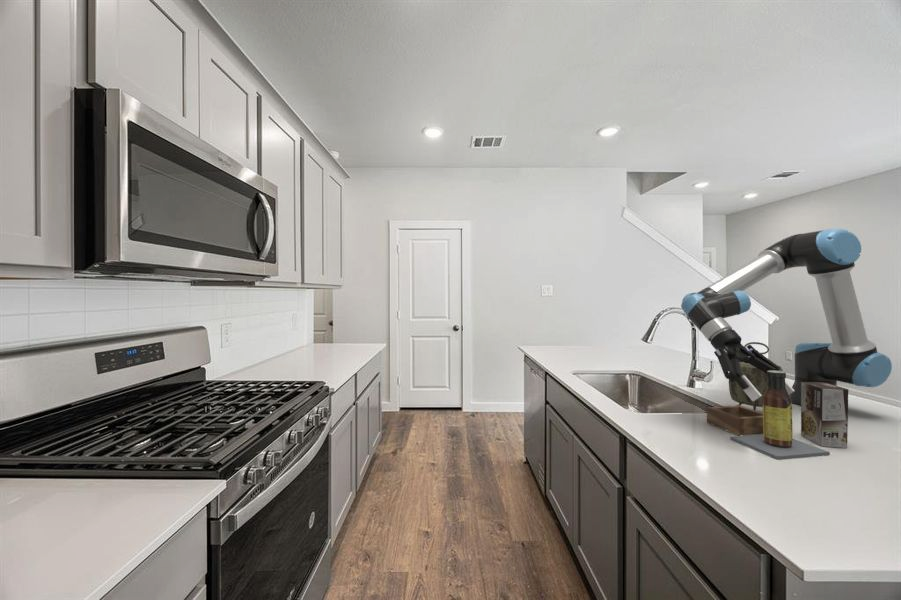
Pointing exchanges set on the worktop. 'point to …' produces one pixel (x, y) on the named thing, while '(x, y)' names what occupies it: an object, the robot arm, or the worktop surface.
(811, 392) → the coffee box
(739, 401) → the tabletop clock
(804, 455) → the rubber mat
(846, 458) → the worktop surface
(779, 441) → the sauce bottle
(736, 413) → the bottle holder
